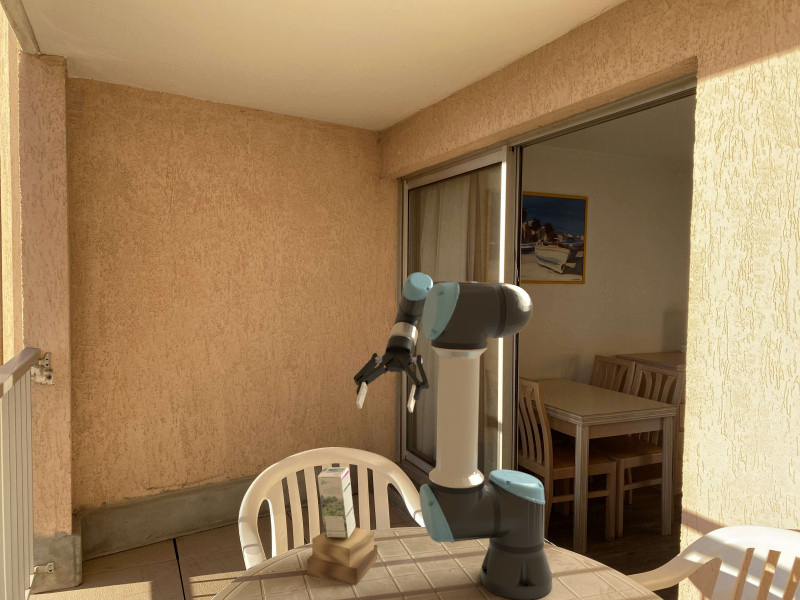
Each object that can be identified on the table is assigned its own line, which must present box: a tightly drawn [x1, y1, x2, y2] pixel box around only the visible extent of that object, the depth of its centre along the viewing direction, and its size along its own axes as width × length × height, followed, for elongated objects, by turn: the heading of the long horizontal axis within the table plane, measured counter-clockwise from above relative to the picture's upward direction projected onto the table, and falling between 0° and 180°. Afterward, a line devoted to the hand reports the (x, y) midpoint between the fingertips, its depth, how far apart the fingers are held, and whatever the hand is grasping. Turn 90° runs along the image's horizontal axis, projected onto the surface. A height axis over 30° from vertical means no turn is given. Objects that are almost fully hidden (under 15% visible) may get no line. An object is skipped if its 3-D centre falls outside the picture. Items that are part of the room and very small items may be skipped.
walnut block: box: [306, 544, 378, 585], centre depth 129 cm, size 12×12×4 cm
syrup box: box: [317, 466, 356, 538], centre depth 128 cm, size 6×6×14 cm
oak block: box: [311, 526, 375, 567], centre depth 129 cm, size 10×10×4 cm
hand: (383, 407), depth 142 cm, fingers open, 13 cm apart
